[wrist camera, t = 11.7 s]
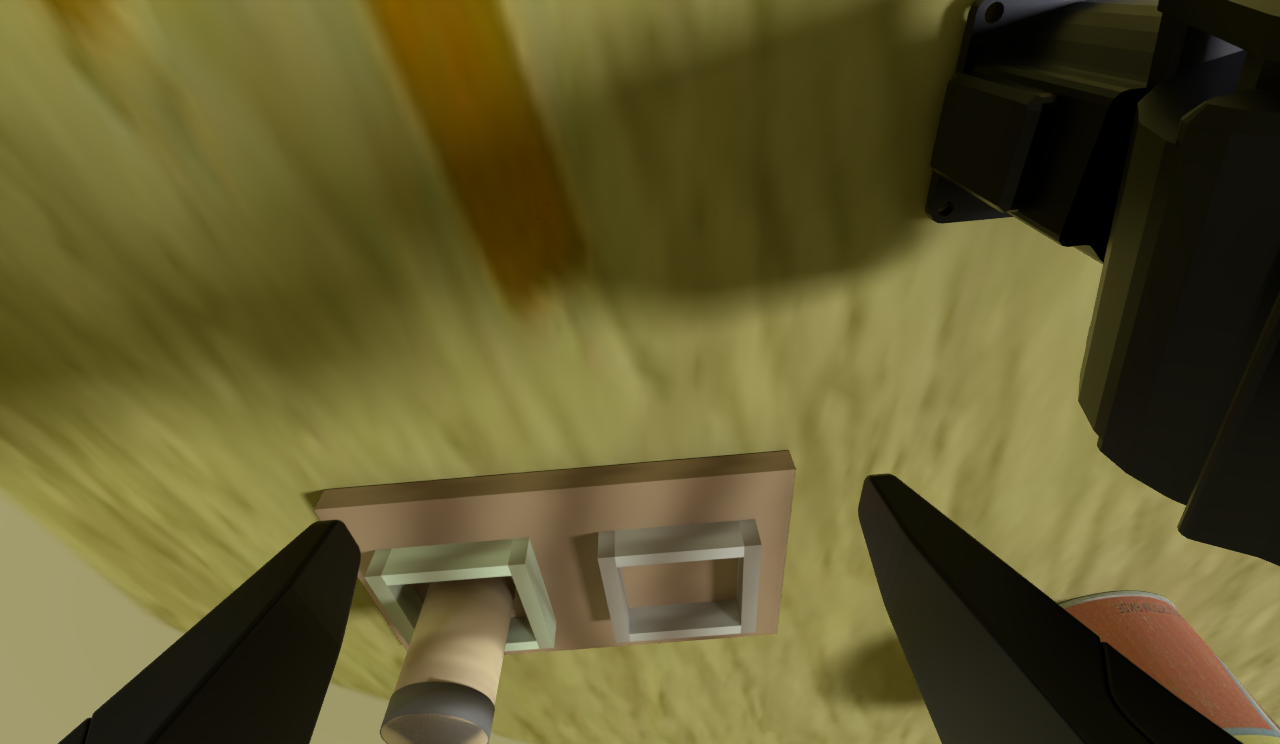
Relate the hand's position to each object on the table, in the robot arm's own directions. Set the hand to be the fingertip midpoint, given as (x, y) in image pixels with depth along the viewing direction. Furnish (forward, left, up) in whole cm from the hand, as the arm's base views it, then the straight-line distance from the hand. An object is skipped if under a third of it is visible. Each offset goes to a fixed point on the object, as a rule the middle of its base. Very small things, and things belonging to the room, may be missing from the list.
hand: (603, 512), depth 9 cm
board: (+4, +18, -12) cm, 22 cm away
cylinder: (+9, +18, -11) cm, 23 cm away
